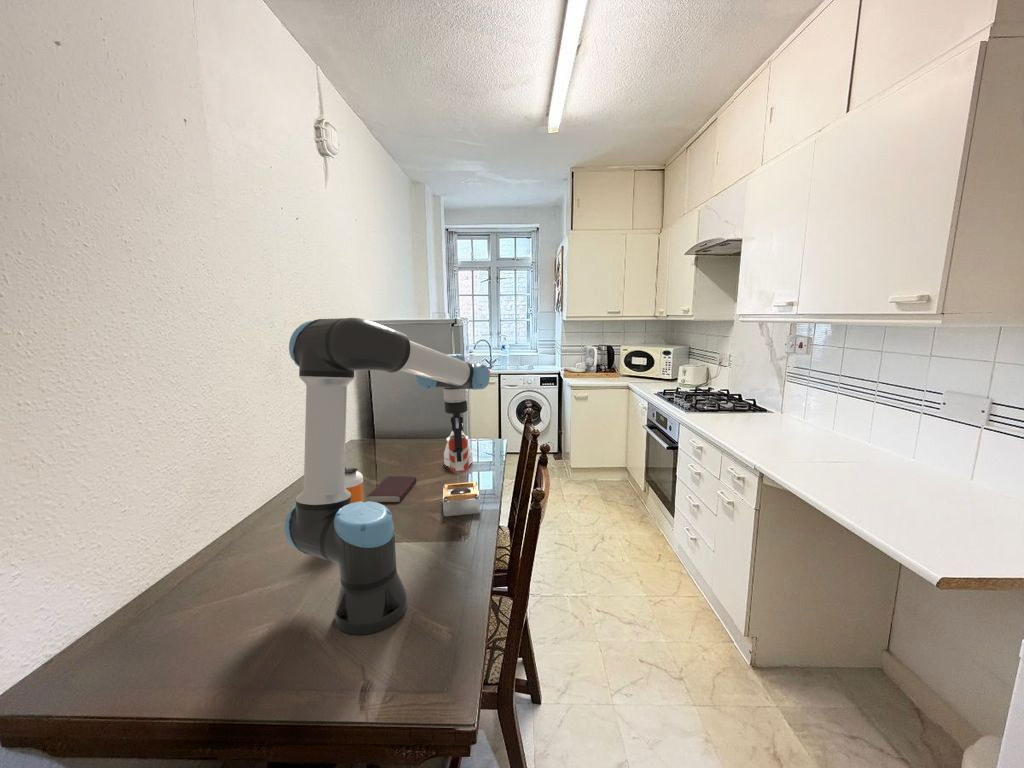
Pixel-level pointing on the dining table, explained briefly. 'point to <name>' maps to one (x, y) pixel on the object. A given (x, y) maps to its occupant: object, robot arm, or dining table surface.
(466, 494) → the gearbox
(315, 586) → the dining table surface
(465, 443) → the beverage can
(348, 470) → the shaker bottle
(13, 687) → the dining table surface
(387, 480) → the book
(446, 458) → the honey pot
